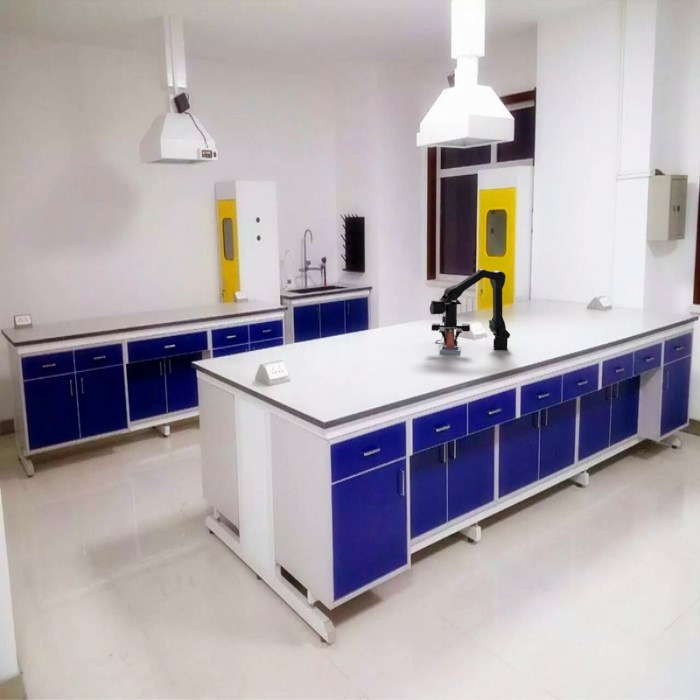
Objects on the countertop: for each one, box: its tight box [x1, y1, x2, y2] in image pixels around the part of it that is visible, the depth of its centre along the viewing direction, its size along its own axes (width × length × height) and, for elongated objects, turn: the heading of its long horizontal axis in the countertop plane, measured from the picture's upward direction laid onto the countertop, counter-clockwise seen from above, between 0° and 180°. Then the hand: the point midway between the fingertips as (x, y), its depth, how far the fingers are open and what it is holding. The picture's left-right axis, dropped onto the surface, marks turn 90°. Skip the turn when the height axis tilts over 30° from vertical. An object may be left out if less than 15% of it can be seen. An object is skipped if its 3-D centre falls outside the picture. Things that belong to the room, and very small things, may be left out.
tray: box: [439, 345, 462, 356], centre depth 317 cm, size 10×10×2 cm
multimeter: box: [435, 313, 455, 345], centre depth 335 cm, size 15×10×20 cm
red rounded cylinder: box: [446, 330, 456, 348], centre depth 316 cm, size 4×4×9 cm
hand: (450, 344), depth 316 cm, fingers closed on red rounded cylinder, 4 cm apart
